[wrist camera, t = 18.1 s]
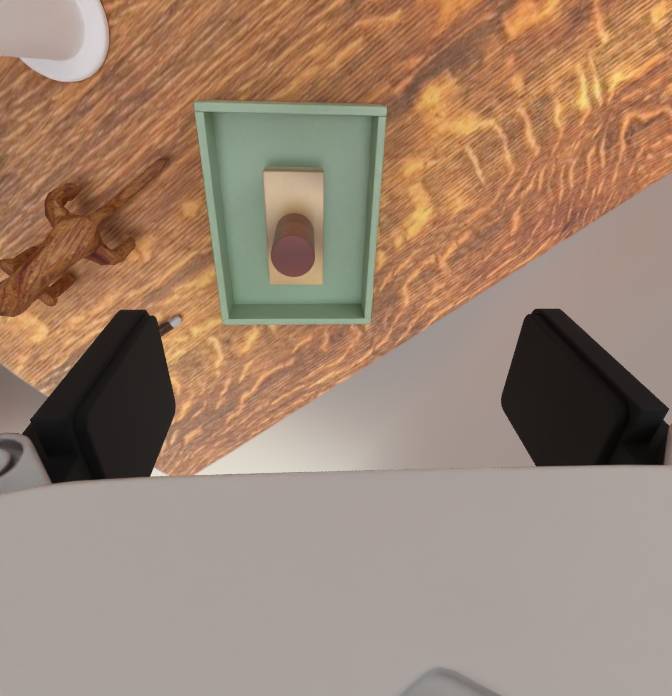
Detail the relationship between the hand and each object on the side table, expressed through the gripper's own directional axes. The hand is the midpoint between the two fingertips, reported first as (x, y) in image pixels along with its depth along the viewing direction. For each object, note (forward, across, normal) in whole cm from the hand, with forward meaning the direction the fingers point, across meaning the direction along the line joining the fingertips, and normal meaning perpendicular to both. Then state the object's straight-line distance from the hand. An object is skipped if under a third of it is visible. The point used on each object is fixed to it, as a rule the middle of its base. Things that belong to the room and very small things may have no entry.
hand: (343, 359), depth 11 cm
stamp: (+28, +2, +4) cm, 28 cm away
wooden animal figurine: (+28, +19, +5) cm, 35 cm away
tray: (+28, +2, +4) cm, 29 cm away
